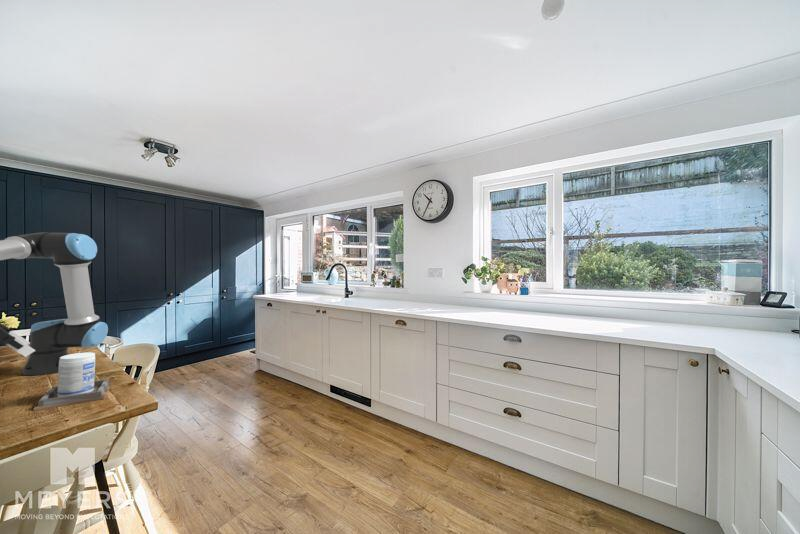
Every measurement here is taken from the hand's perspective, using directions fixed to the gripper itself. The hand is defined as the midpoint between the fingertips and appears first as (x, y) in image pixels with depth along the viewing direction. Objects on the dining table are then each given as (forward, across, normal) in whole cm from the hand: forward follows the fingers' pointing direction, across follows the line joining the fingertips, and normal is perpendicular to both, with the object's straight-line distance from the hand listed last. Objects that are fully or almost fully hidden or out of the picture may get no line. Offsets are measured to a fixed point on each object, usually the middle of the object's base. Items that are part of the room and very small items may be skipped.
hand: (28, 349), depth 105 cm
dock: (+23, +2, -4) cm, 23 cm away
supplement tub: (+22, +2, -3) cm, 23 cm away
